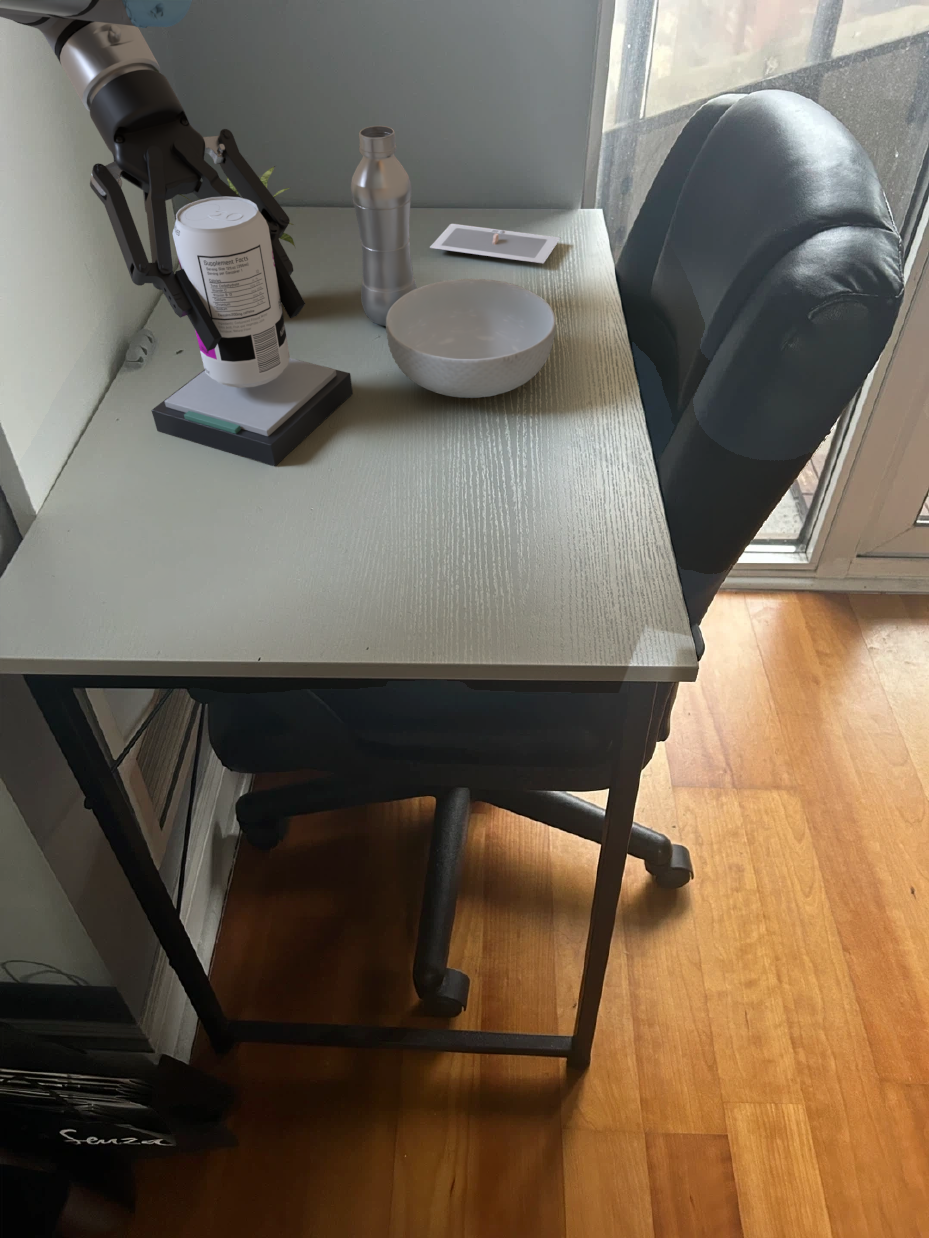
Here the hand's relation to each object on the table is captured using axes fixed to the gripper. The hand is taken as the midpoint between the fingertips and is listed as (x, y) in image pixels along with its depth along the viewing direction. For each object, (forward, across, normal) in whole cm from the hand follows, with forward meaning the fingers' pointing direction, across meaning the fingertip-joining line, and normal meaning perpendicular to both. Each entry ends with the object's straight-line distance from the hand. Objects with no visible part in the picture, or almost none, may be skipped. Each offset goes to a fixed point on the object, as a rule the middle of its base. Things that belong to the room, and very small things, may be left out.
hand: (257, 327), depth 85 cm
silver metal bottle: (+1, +22, +14) cm, 26 cm away
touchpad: (-3, +43, +18) cm, 47 cm away
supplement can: (+2, 0, +6) cm, 7 cm away
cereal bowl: (+12, +20, +3) cm, 24 cm away
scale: (+5, 0, +10) cm, 11 cm away
